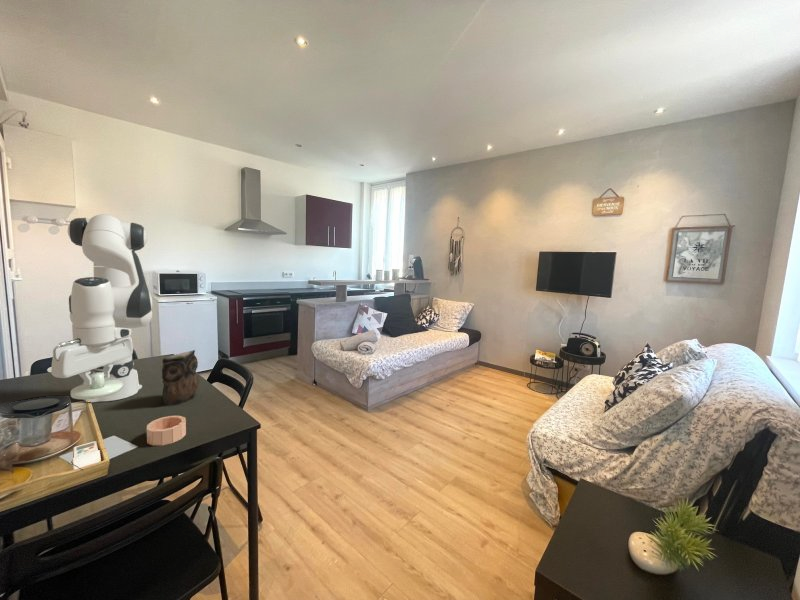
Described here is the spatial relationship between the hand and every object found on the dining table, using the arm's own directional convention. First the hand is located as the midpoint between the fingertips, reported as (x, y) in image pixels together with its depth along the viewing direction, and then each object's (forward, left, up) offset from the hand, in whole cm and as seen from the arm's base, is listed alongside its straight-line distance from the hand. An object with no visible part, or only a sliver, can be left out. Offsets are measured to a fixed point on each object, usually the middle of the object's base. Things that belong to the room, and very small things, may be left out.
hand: (97, 381), depth 93 cm
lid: (0, 0, -3) cm, 3 cm away
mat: (0, 0, -22) cm, 22 cm away
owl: (-18, +34, -22) cm, 44 cm away
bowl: (+8, +14, -22) cm, 27 cm away
